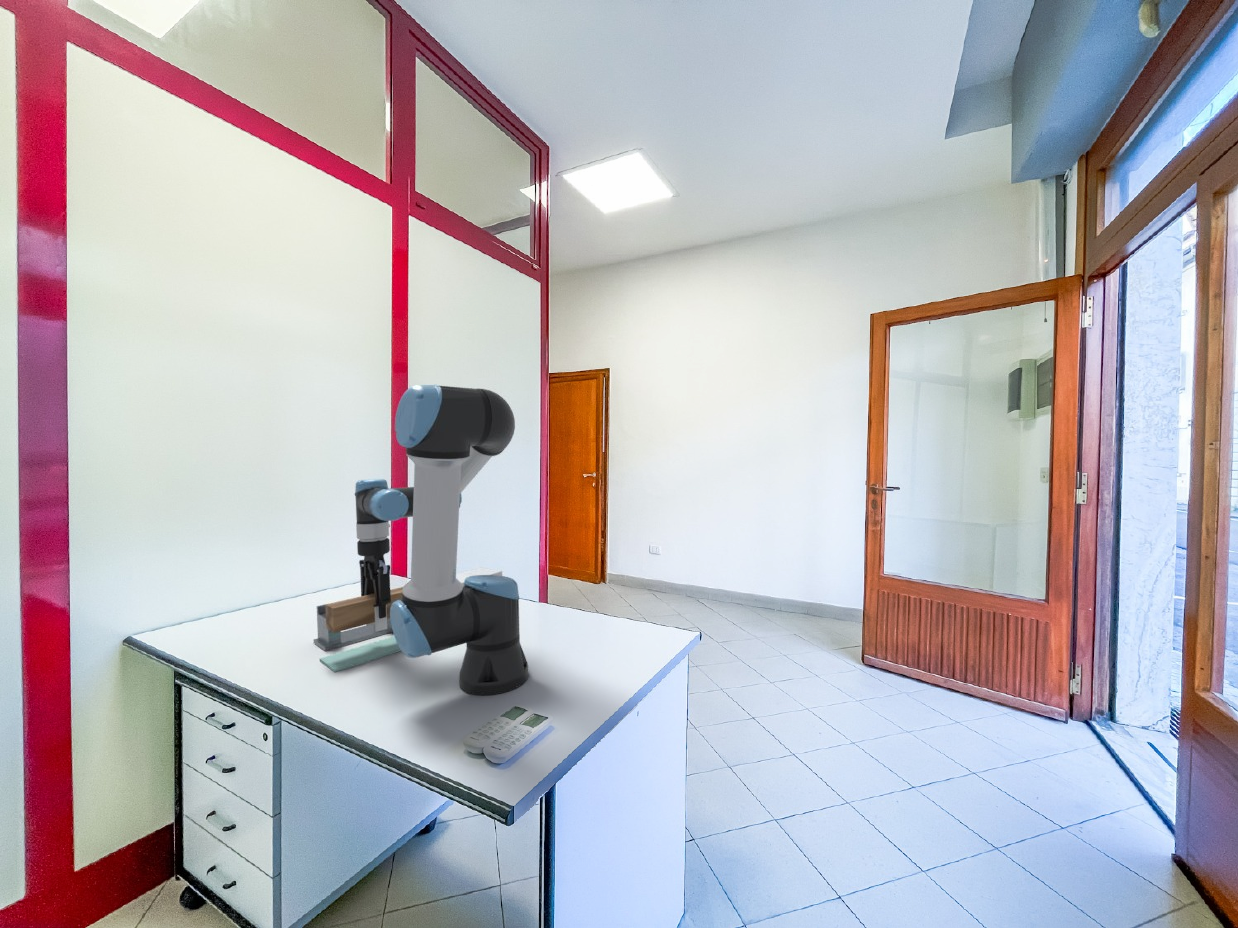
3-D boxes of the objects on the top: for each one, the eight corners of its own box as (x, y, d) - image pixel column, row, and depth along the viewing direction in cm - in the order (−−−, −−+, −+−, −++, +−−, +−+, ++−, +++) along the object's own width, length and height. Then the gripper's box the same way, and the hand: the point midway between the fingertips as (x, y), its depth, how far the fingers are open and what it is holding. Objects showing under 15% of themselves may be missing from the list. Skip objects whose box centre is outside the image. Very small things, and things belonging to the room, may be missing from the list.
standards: (401, 629, 144) (399, 595, 144) (325, 651, 130) (323, 613, 129) (387, 622, 150) (386, 590, 150) (313, 643, 136) (312, 606, 135)
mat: (430, 641, 135) (430, 639, 135) (334, 672, 117) (334, 669, 117) (413, 632, 142) (413, 630, 142) (319, 660, 124) (319, 658, 124)
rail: (421, 609, 136) (420, 587, 135) (333, 633, 119) (332, 608, 119) (412, 606, 139) (412, 584, 139) (326, 628, 123) (325, 604, 122)
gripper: (403, 540, 125) (406, 631, 126) (373, 533, 137) (376, 616, 138) (373, 544, 120) (376, 639, 120) (344, 537, 132) (347, 623, 132)
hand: (376, 627), depth 129 cm, fingers closed on rail, 5 cm apart
